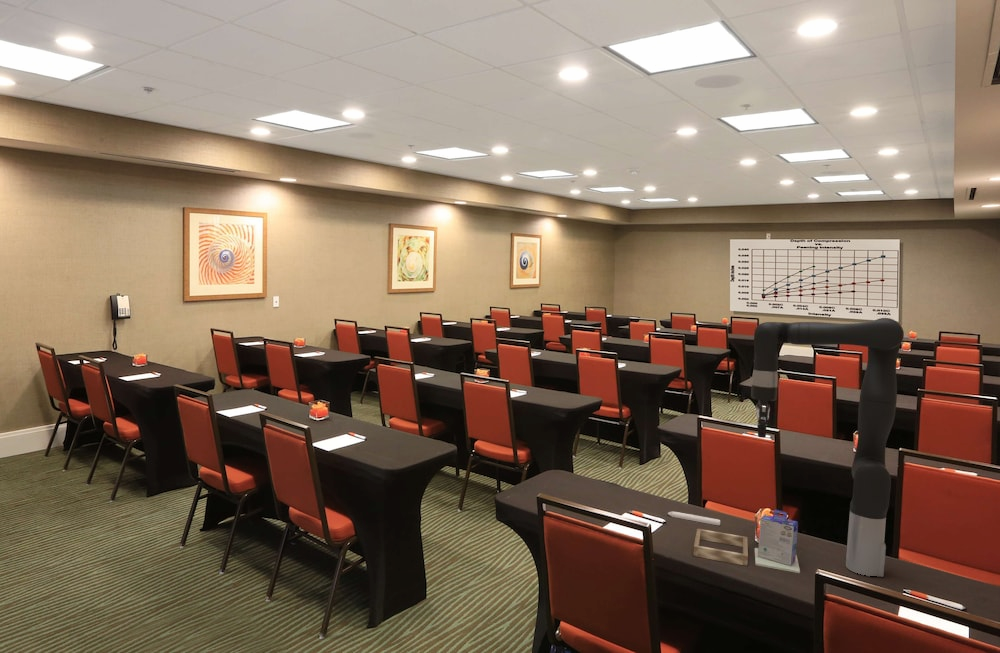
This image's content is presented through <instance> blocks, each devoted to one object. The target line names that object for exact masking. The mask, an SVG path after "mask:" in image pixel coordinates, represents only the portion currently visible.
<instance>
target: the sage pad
mask: <svg viewBox="0 0 1000 653" xmlns="http://www.w3.org/2000/svg"><path fill="white" fill-rule="evenodd" d="M754 560H755V561H754V563H755V566H757V567H763V568H769V569H775V570H780V571H785V572H790V573H795V574H800V573H801V570H800V566H799V560H798V555H797V554H796V561H795V562H794V563H793V564H792V565H787V564H783V563H780V562H776V561H773V560H770V559H766V558H763V557H759V556H758V547H754Z"/></svg>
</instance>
